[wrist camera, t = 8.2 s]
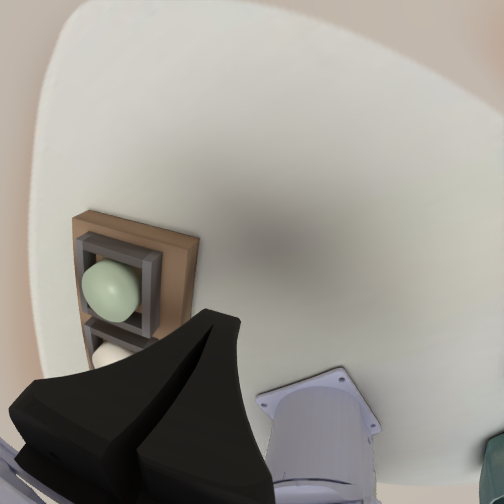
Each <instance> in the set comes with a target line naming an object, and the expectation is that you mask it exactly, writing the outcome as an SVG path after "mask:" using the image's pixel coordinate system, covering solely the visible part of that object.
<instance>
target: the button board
mask: <svg viewBox="0 0 504 504" xmlns="http://www.w3.org/2000/svg"><path fill="white" fill-rule="evenodd" d="M72 230H73V250H74V265H75V276H76V286H77V295H78V304H79V311H80V318H81V325H82V331H83V337H84V343H85V349H86V354H87V359H88V364H89V369H90V370H93V369H95V367H94V365H93V362H92V356H93V354H94V352H95V351H96V350H97V349H98V348H99V347H100V346H101V344H102V343H103V342H104V341H105V340H108V341H110V342H112V343H115V344H117V345H120V346H122V347H125V348H127V349H129V350H132V351H134V352H139V351H141V350H143V349H145V348H147V347H148V346H150V345H152V344H154V343H155V342H157V341H159V340H160V339H162V338H164V337H165V336H167V335H168V334H170V333H171V332H173V331H174V330H176V329H177V328H179V327H180V326H182V325H183V324H184V323H186V322H187V321H188V320H190V314H191V305H192V295H193V286H194V278H195V269H196V261H197V253H198V245H199V238H196V237H192V236H188V235H184V234H180V233H176V232H173V231H169V230H165V229H161V228H157V227H153V226H149V225H145V224H142V223H138V222H134V221H130V220H126V219H122V218H118V217H114V216H111V215H107V214H103V213H99V212H95V211H91V210H88V211H86V212H84V213H81V214H79V215H77V216H75V217H73V218H72ZM104 257H107V258H110V259H113V260H116V261H119V262H122V263H126V264H129V265H132V266H135V267H138V268H139V269H140V270H141V272H142V303H141V304H140V305H139V306H138V307H137V309H136V310H135V311H134V312H133V313H132V314H131V315H130V316H129V317H128V318H127V319H126V320H125V321H123V322H111V321H108V320H106V319H104V318H102V317H101V316H99V315H98V314H97V313H96V312H95V311H94V310H93V309H92V308H91V307H90V305H89V304H88V302H87V301H86V299H85V297H84V294H83V290H82V278H83V275H84V273H85V272H86V271H87V270H88V269H89V268H90V267H92V266H93V265H94V264H96V263H97V262H99V261H100V260H101V259H103V258H104Z"/></svg>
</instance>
